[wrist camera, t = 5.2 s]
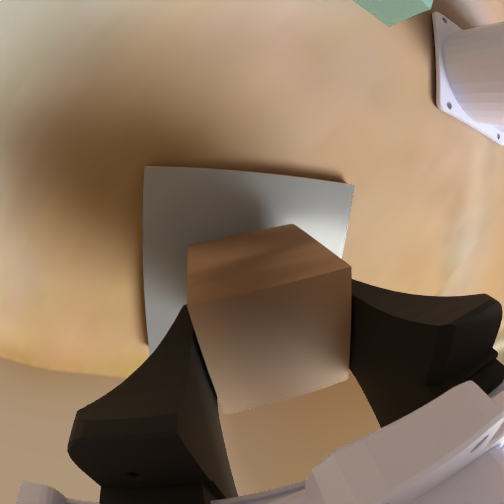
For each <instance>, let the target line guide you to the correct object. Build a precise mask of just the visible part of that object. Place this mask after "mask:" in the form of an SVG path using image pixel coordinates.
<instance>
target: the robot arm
mask: <svg viewBox="0 0 504 504" xmlns="http://www.w3.org/2000/svg"><path fill="white" fill-rule="evenodd" d="M432 19H433V28H434V38H435V53H436V104H437V106H438V108H439V109H440V110H441V111H443V112H445V113H447V114H449V115H451V116H453V117H455V118H457V119H458V120H460V121H462V122H464V123H465V124H467V125H469V126H471V127H472V128H474V129H476V130H477V131H479V132H481V133H482V134H484V135H485V136H487V137H489V138H490V139H492V140H493V141H495V142H496V143H498V144H499V145H501V146H504V22H500V23H494V24H488V25H483V26H478V27H474V28H469V29H465V30H463V29H461V28H460V27H459V26H457V25H456V24H455V23H453V22H452V21H451V20H449V19H448V18H446V17H445V16H443V15H442V14H441V13H439V12H433V13H432ZM447 105H448V107H447ZM501 320H502V306H501V304H500V303H499V302H498V301H497V300H495V299H494V298H492V297H490V296H489V295H487V294H477V295H468V296H452V297H438V296H423V295H413V294H407V293H401V292H396V291H391V290H387V289H383V288H379V287H375V286H372V285H369V284H366V283H362V282H359V281H356V280H353V279H351V337H350V357H349V369H350V370H351V372H352V373H353V375H354V376H355V377H356V379H357V381H358V383H359V385H360V386H361V388H362V390H363V392H364V394H365V395H366V398H367V399H368V401H369V403H370V405H371V407H372V409H373V411H374V413H375V415H376V418H377V420H378V422H379V424H380V426H381V429H379V430H376V431H374V432H372V433H370V434H368V435H365V436H363V437H361V438H358V439H357V440H355V441H353V442H351V443H349V444H347V445H345V446H343V447H341V448H339V449H338V450H335V451H334V452H332V453H331V454H330V455H328V456H327V457H326V458H324V459H323V460H322V461H320V462H319V463H318V464H316V465H315V466H314V468H313V469H312V471H311V473H310V474H309V476H308V478H307V480H305V481H302V482H298V483H295V484H291V485H288V486H284V487H281V488H276V489H273V490H268V491H264V492H259V493H255V494H250V495H245V496H239V497H238V494H237V491H236V488H235V484H234V480H233V476H232V473H231V469H230V465H229V461H228V457H227V452H226V448H225V444H224V439H223V435H222V430H221V425H220V420H219V413H218V405H217V404H218V403H217V394H216V391H215V388H214V386H213V383H212V380H211V377H210V375H209V372H208V369H207V366H206V363H205V360H204V357H203V354H202V352H201V349H200V346H199V343H198V339H197V336H196V333H195V330H194V327H193V324H192V321H191V318H190V314H189V311H188V308H187V304H186V305H183V307H182V308H181V310H180V312H179V313H178V315H177V317H176V319H175V321H174V322H173V324H172V326H171V327H170V329H169V330H168V332H167V334H166V335H165V337H164V338H163V340H162V341H161V342H160V344H159V345H158V347H157V348H156V349H155V351H154V352H153V353H152V354H151V355H150V356H149V358H148V359H147V360H146V361H145V362H144V363H143V364H142V365H141V366H140V367H139V368H138V369H137V370H136V371H135V372H134V373H133V374H131V375H130V376H129V377H128V378H127V379H126V380H125V381H124V382H122V383H121V384H120V385H118V386H117V387H116V388H114V389H113V390H112V391H110V392H109V393H107V394H106V395H104V396H103V397H101V398H100V399H98V400H96V401H95V402H93V403H91V404H89V405H87V406H86V407H84V408H82V409H80V410H78V411H77V414H76V417H75V420H74V423H73V428H72V431H71V435H70V439H69V443H68V450H67V451H68V453H69V456H70V458H71V459H72V460H73V461H74V463H75V464H76V465H77V466H78V467H79V468H80V469H81V470H82V471H84V472H85V473H86V474H87V475H88V476H89V477H90V478H92V479H93V480H94V481H95V482H96V483H98V484H99V485H100V486H101V491H100V492H101V493H100V503H99V502H90V501H82V500H75V499H69V498H66V497H65V496H64V495H63V494H61V493H60V492H59V491H57V490H56V489H54V488H52V487H50V486H47V485H44V484H39V483H34V482H30V481H26V480H23V481H22V482H21V486H20V490H19V495H18V499H17V504H504V365H503V364H501V363H500V362H499V361H498V360H497V359H496V358H497V356H498V352H497V351H496V350H494V349H493V348H492V347H493V345H494V342H495V339H496V336H497V333H498V331H499V328H500V324H501Z"/></svg>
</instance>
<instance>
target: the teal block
mask: <svg viewBox="0 0 504 504" xmlns="http://www.w3.org/2000/svg"><path fill="white" fill-rule="evenodd" d="M353 1H354V2H356V3H357V4H359V5H360V6H362V7H363V8H364V9H366V10H367V11H369V12H370V13H371V14H373V15H374V16H375V17H377V18H378V19H379V20H381V21H382V22H383V23H384V24H386V25H387V26H388V27H390V26H392V25H394V24H396V23H398V22H401V21H403V20H405V19H408V18H410V17H412V16H415V15H417V14H420V13H422V12H425V11H427V10H430V9H431V6H432V3H433V0H353Z"/></svg>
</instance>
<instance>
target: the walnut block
mask: <svg viewBox="0 0 504 504" xmlns="http://www.w3.org/2000/svg"><path fill="white" fill-rule="evenodd" d="M187 308H188V311H189V314H190V318H191V321H192V324H193V327H194V330H195V333H196V336H197V339H198V343H199V346H200V349H201V352H202V354H203V357H204V360H205V363H206V366H207V369H208V372H209V375H210V377H211V380H212V383H213V386H214V388H215V391H216V394H217V396H218V399H219V401H220V404H221V407H222V410H223V412H224V414H225V415H226V414H231V413H235V412H240V411H244V410H249V409H253V408H257V407H261V406H265V405H269V404H273V403H276V402H279V401H283V400H287V399H290V398H294V397H297V396H300V395H304V394H307V393H310V392H313V391H316V390H319V389H322V388H325V387H328V386H331V385H333V384H336V383H339V382H342V381H345V380H347V379H348V372H349V357H350V337H351V266H350V265H349V264H347V263H346V262H345V261H343V260H342V259H341V258H340V257H338V256H337V255H336V254H334V253H333V252H332V251H330V250H329V249H328V248H326V247H325V246H324V245H322V244H321V243H319V242H318V241H317V240H315V239H314V238H313V237H311V236H310V235H309V234H307V233H306V232H304V231H303V230H302V229H300V228H299V227H298V226H296V225H295V224H293V223H292V224H288V225H283V226H278V227H273V228H268V229H263V230H258V231H254V232H249V233H244V234H240V235H235V236H230V237H226V238H221V239H216V240H212V241H207V242H203V243H198V244H193V245H189V246H188V264H187Z"/></svg>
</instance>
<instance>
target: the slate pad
mask: <svg viewBox="0 0 504 504" xmlns="http://www.w3.org/2000/svg"><path fill="white" fill-rule="evenodd" d="M353 191H354V185H352V184H348V183H342V182H336V181H329V180H322V179H314V178H307V177H299V176H290V175H282V174H272V173H263V172H252V171H240V170H227V169H213V168H195V167H172V166H145V167H144V183H143V225H142V234H143V276H144V296H145V310H146V323H147V334H148V343H149V352H150V355H151V354H152V353H153V352H154V351H155V349H156V348H157V347H158V345H159V344H160V342H161V341H162V340H163V338H164V337H165V335H166V334H167V332H168V330H169V329H170V327H171V326H172V324H173V322H174V321H175V319H176V317H177V315H178V313H179V312H180V310H181V308H182V307H183V305H186V304H187V264H188V246H189V245H193V244H198V243H203V242H207V241H212V240H216V239H221V238H226V237H230V236H235V235H240V234H244V233H249V232H254V231H258V230H263V229H268V228H273V227H278V226H283V225H288V224H292V223H293V224H295V225H296V226H298V227H299V228H300V229H302V230H303V231H304V232H306V233H307V234H309V235H310V236H311V237H313V238H314V239H315V240H317V241H318V242H319V243H321V244H322V245H324V246H325V247H326V248H328V249H329V250H330V251H332V252H333V253H334V254H336V255H337V256H338V257H340V258H341V259H342V254H343V249H344V244H345V239H346V234H347V228H348V222H349V217H350V211H351V204H352V198H353Z"/></svg>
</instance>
